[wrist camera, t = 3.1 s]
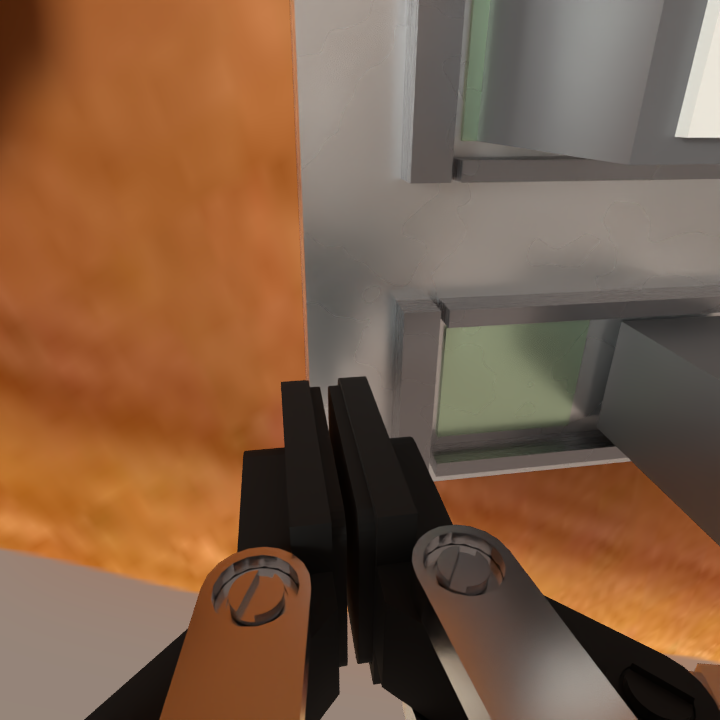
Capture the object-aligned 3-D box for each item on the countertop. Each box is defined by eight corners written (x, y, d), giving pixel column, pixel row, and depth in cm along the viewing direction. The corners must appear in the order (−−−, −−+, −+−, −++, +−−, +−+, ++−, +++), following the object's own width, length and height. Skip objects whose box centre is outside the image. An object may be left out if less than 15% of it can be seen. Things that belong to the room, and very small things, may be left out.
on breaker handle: (646, -36, 10) (998, -168, 5) (611, 140, 11) (866, 163, 6) (492, -44, 9) (722, -197, 5) (474, 140, 10) (640, 166, 6)
